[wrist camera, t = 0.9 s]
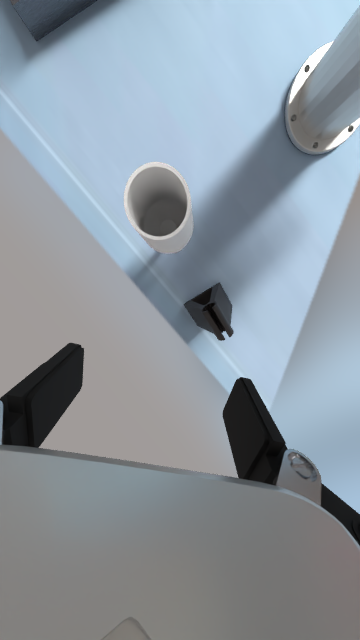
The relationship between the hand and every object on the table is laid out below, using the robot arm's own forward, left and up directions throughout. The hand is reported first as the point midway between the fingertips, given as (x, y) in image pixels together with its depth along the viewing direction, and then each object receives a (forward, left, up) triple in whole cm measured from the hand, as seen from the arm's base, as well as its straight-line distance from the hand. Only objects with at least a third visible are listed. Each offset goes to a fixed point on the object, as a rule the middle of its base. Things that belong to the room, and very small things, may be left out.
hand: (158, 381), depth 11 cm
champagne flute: (-4, -10, -30) cm, 32 cm away
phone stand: (-6, +6, -30) cm, 31 cm away
